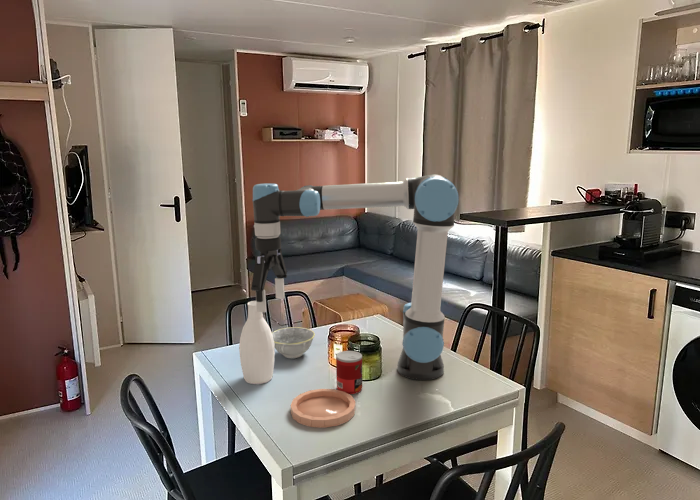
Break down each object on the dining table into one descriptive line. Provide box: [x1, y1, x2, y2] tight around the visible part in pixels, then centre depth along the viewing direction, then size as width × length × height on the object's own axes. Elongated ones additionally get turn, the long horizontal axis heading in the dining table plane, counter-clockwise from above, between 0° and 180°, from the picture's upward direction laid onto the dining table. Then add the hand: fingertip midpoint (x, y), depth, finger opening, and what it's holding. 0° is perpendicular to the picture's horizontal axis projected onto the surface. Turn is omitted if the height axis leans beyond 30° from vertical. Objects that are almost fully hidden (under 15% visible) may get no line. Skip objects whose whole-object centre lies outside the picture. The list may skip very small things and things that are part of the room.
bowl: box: [271, 326, 315, 359], centre depth 190 cm, size 16×16×8 cm
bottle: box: [238, 300, 275, 385], centre depth 170 cm, size 11×11×25 cm
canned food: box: [335, 350, 363, 395], centre depth 163 cm, size 8×8×11 cm
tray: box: [290, 388, 357, 429], centre depth 151 cm, size 18×18×2 cm
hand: (271, 304), depth 163 cm, fingers open, 13 cm apart
